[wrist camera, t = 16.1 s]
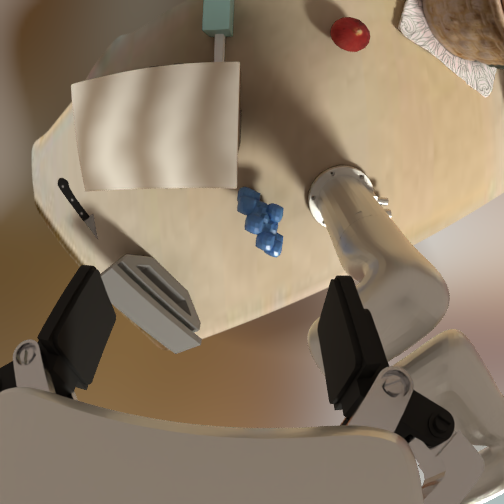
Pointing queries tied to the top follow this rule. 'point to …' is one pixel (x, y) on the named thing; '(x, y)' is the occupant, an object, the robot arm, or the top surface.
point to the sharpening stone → (153, 301)
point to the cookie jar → (459, 36)
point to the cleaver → (77, 205)
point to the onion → (350, 34)
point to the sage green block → (218, 24)
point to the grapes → (261, 220)
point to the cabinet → (160, 127)
